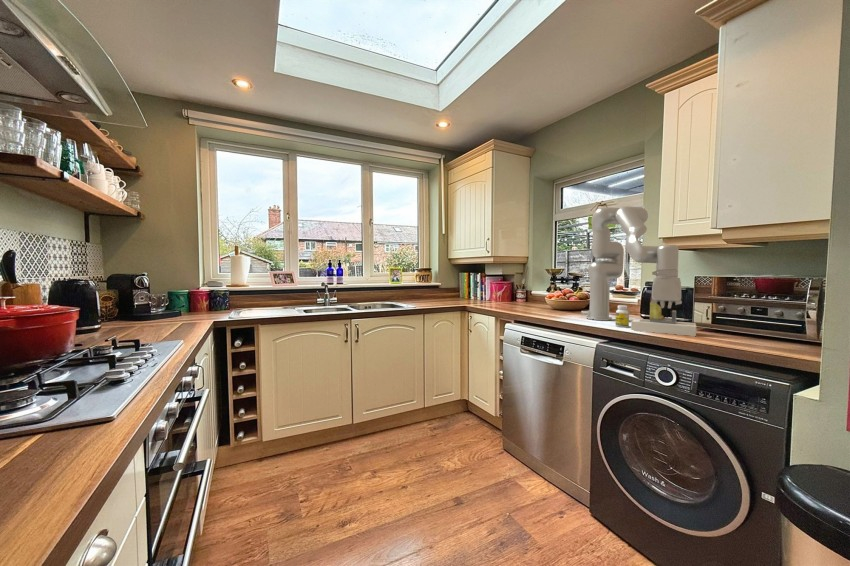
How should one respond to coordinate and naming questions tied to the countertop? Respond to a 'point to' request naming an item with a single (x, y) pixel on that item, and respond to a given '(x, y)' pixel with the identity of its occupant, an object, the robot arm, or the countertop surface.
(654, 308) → the sauce bottle
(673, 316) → the grey l-shaped bracket
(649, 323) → the holder
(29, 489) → the countertop surface
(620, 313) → the supplement bottle
